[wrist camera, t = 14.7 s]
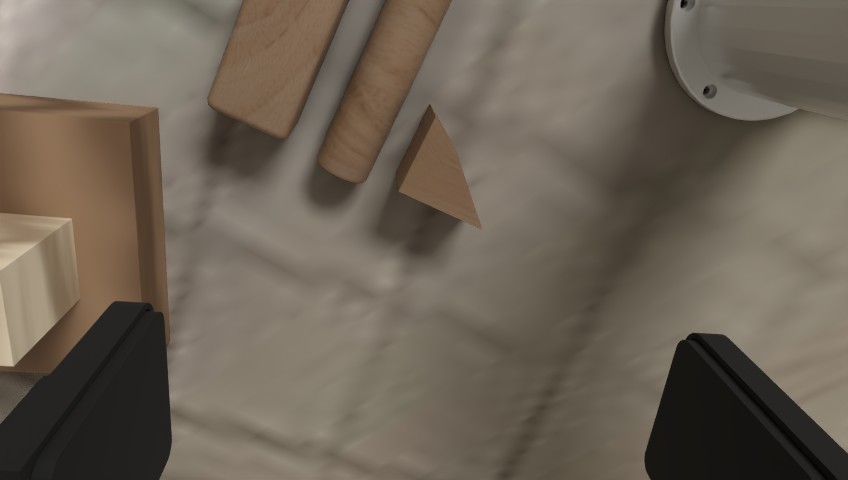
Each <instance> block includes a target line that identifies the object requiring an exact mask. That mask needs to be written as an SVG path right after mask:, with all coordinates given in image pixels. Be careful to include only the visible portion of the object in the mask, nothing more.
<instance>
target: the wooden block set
mask: <svg viewBox="0 0 848 480" xmlns="http://www.w3.org/2000/svg"><path fill="white" fill-rule="evenodd" d="M451 1H452V0H386V1H385V3H384V6H383V8H382V10H381V12H380V15H379V17H378V19H377V22H376V24H375V26H374V28H373V31H372V33H371V35H370V37H369V40H368V42H367V44H366V46H365V49H364V51H363V53H362V55H361V58H360V60H359V62H358V65H357V67H356V69H355V71H354V74H353V76H352V78H351V80H350V83H349V85H348V87H347V89H346V92H345V94H344V96H343V98H342V101H341V103H340V105H339V108H338V110H337V112H336V114H335V117H334V119H333V121H332V123H331V126H330V128H329V130H328V132H327V135H326V137H325V139H324V142H323V144H322V146H321V148H320V151H319V153H318V155H317V162H318V164H319V165H320V166H321V167H322V168H324V169H325V170H326V171H328V172H329V173H331V174H333V175H334V176H336V177H339V178H341V179H343V180H346V181H349V182H354V183H363V182H364V181H366V180H367V178H368V175H369V173H370V171H371V169H372V167H373V165H374V163H375V161H376V159H377V157H378V154H379V152H380V150H381V148H382V146H383V144H384V142H385V140H386V138H387V135H388V133H389V131H390V129H391V127H392V125H393V123H394V121H395V119H396V117H397V114H398V112H399V110H400V108H401V106H402V104H403V102H404V100H405V98H406V96H407V93H408V91H409V89H410V87H411V85H412V83H413V81H414V79H415V77H416V75H417V72H418V70H419V68H420V66H421V64H422V62H423V60H424V58H425V56H426V54H427V51H428V49H429V47H430V45H431V43H432V41H433V39H434V37H435V35H436V32H437V30H438V28H439V26H440V24H441V22H442V20H443V18H444V16H445V14H446V11H447V9H448V7H449V5H450V3H451ZM348 2H349V0H244V1H243V3H242V6H241V9H240V11H239V14H238V17H237V20H236V22H235V25H234V28H233V30H232V33H231V36H230V39H229V41H228V44H227V47H226V49H225V52H224V55H223V58H222V60H221V63H220V66H219V68H218V71H217V74H216V77H215V79H214V82H213V85H212V87H211V90H210V93H209V96H208V105H209V106H210V107H211V108H212V109H213V110H215V111H217V112H219V113H222V114H224V115H226V116H228V117H230V118H233V119H235V120H237V121H239V122H241V123H244V124H246V125H248V126H250V127H253V128H255V129H257V130H259V131H261V132H264V133H266V134H268V135H270V136H272V137H275V138H277V139H285V138H286V137H287V136H288V135H289V134H290V133H291V131H292V130H293V128H294V127H295V125H296V124H297V122H298V120H299V117H300V115H301V113H302V110H303V108H304V106H305V103H306V101H307V99H308V96H309V94H310V91H311V89H312V87H313V84H314V82H315V80H316V77H317V75H318V73H319V70H320V68H321V65H322V63H323V61H324V58H325V56H326V54H327V51H328V49H329V46H330V44H331V42H332V39H333V37H334V35H335V32H336V30H337V28H338V25H339V23H340V20H341V18H342V16H343V13H344V11H345V9H346V6H347V4H348ZM397 182H398V192H400V193H403V194H405V195H407V196H409V197H411V198H414V199H416V200H418V201H420V202H422V203H425V204H427V205H429V206H431V207H433V208H436V209H438V210H440V211H442V212H444V213H447V214H449V215H451V216H453V217H455V218H458V219H460V220H462V221H464V222H466V223H469V224H471V225H473V226H475V227H477V228H480V229H482V228H481V225H480V222H479V219H478V216H477V213H476V210H475V207H474V204H473V201H472V198H471V195H470V192H469V189H468V186H467V183H466V180H465V177H464V174H463V171H462V168H461V165H460V162H459V159H458V156H457V153H456V151H455V149H454V147H453V145H452V143H451V141H450V139H449V137H448V135H447V133H446V131H445V129H444V128H443V126H442V124H441V122H440V121H439V119H438V117H437V115H436V114H435V112H434V110H433V108H432V107H431V105H429V107H428V109H427V111H426V113H425V115H424V117H423V119H422V121H421V123H420V125H419V127H418V129H417V131H416V133H415V135H414V137H413V139H412V141H411V143H410V145H409V147H408V150H407V152H406V154H405V156H404V158H403V160H402V162H401V164H400V166H399V168H398V170H397Z"/></svg>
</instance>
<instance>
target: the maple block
mask: <svg viewBox="0 0 848 480" xmlns="http://www.w3.org/2000/svg"><path fill="white" fill-rule="evenodd" d="M79 299H80V291H79V282H78V272H77V263H76V253H75V243H74V234H73V224H72V219H70V218H58V217H45V216H33V215H20V214H8V213H0V366H15V365H16V364H17V363H18V361H19V360H20V359H21V358H22V357H23V356H24V355H25V354H26V353H27V352H28V351H29V350H30V349H31V348H32V347H33V346H34V345H35V344H36V343H37V342H38V341H39V340H40V339H41V338H42V337H43V336H44V335H45V334H46V333H47V332H48V331H49V330H50V329H51V328H52V327H53V326H54V325H55V324H56V323H57V322H58V321H59V320H60V319H61V318H62V317H63V316H64V315H65V314H66V313H67V312H68V311H69V310H70V309H71V308H72V307H73V306H74V305H75V304H76V302H77V301H78V300H79Z"/></svg>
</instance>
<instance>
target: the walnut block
mask: <svg viewBox="0 0 848 480" xmlns="http://www.w3.org/2000/svg"><path fill="white" fill-rule="evenodd" d="M0 213H8V214H20V215H33V216H45V217H58V218H70V219H72V224H73V234H74V243H75V253H76V263H77V272H78V282H79V291H80V299H79V300H78V301H77V302H76V304H75V305H74V306H73V307H72V308H71V309H70V310H69V311H68V312H67V313H66V314H65V315H64V316H63V317H62V318H61V319H60V320H59V321H58V322H57V323H56V324H55V325H54V326H53V327H52V328H51V329H50V330H49V331H48V332H47V333H46V334H45V335H44V336H43V337H42V338H41V339H40V340H39V341H38V342H37V343H36V344H35V345H34V346H33V347H32V348H31V349H30V350H29V351H28V352H27V353H26V354H25V355H24V356H23V357H22V358H21V359H20V360H19V361H18V363H17V364H16V365H15V366H0V371H4V372H25V373H46V374H51V373H52V371H53V370H54V369H55V368H56V367H57V366H58V365H59V363H60V362H61V361H62V360H63V359H64V358H65V356H66V355H67V354H68V353H69V352H70V351H71V350H72V348H73V347H74V346H75V345H76V344H77V343H78V341H79V340H80V339H81V338H82V337H83V336H84V335H85V333H86V332H87V331H88V330H89V329H90V328H91V326H92V325H93V324H94V323H95V322H96V321H97V320H98V318H99V317H100V316H101V315H102V314H103V313H104V311H105V310H106V309H107V308H108V307H109V306H110V305H111V303H113V302H114V301H125V302H143V303H150V304H151V305H152V306H153V309H154V311H155V312H162V313H163V315H164V320H165V335H166V346H167V344H168V342H169V341H170V331H169V311H168V292H167V272H166V252H165V233H164V213H163V194H162V174H161V154H160V135H159V115H158V108H152V107H141V106H131V105H120V104H109V103H99V102H88V101H77V100H67V99H56V98H45V97H35V96H24V95H13V94H3V93H0Z"/></svg>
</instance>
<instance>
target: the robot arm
mask: <svg viewBox="0 0 848 480" xmlns="http://www.w3.org/2000/svg"><path fill="white" fill-rule="evenodd" d="M680 2H681V0H668V4H667V7H666V17H665V26H664V32H665V45H666V52H667V55H668V59H669V63H670V66H671V69H672V71H673V73H674V75H675V77H676V79H677V81H678V82H679V84H680V85H681V87H682V88H683V89H684V90H685V91H686V93H687V94H688V95H689V96H690V97H691V98H692V99H693V100H695V101H696V102H697V103H698V104H700V105H701V106H702V107H704V108H706V109H708V110H710V111H712V112H715V113H717V114H719V115H722V116H726V117H729V118H733V119H738V120H748V121H757V120H767V119H773V118H777V117H780V116H783V115H787V114H790V113H792V112H794V111H796V110H798V109H803V110H806V111H810V112H814V113H818V114H822V115H826V116H829V117H833V118H837V119H841V120H845V121H848V0H684V5H683V7H680ZM705 87H706V91H705V92H704V93H703V90H704V88H705ZM171 443H172V433H171V417H170V401H169V384H168V368H167V351H166V335H165V320H164V315H163V313H162V312H155V311H154V309H153V306H152V305H151V304H150V303H143V302H125V301H114V302H113V303H111V305H110V306H109V307H108V308H107V309H106V310H105V311H104V313H103V314H102V315H101V316H100V317H99V318H98V320H97V321H96V322H95V323H94V324H93V325H92V326H91V328H90V329H89V330H88V331H87V332H86V333H85V335H84V336H83V337H82V338H81V339H80V340H79V341H78V343H77V344H76V345H75V346H74V347H73V348H72V350H71V351H70V352H69V353H68V354H67V355H66V356H65V358H64V359H63V360H62V361H61V362H60V363H59V365H58V366H57V367H56V368H55V369H54V370H53V371H52V373H51V374H50V375H48V376H44V377H43V378H42V379H41V380H39V381H38V382H37V383H36V384H35V386H34V387H33V388H32V389H31V390H30V391H29V392H28V393H27V395H26V396H25V397H24V398H23V399H22V400H21V401H20V403H19V404H18V405H17V406H16V407H15V408H14V409H13V410H12V412H11V413H10V414H9V415H8V416H7V417H6V418H5V420H4V421H3V422H2V423H1V424H0V480H159V479H160V476H161V474H162V472H163V470H164V468H165V465H166V463H167V461H168V458H169V455H170V450H171ZM645 468H646V471H647V474H648V476H649V478H650V479H651V480H848V453H847V452H846V451H844V450H843V449H842V448H841V447H840V446H839V445H838V444H837V443H836V442H835V441H834V440H833V439H832V438H831V437H830V436H829V435H828V434H827V433H826V432H825V431H824V430H823V429H822V428H821V427H820V426H819V425H818V424H817V423H816V422H815V421H813V420H812V419H811V418H810V417H809V416H808V415H807V414H806V413H805V412H804V411H803V410H802V409H801V408H800V407H799V406H798V405H797V404H796V403H795V402H794V401H793V400H792V399H791V398H790V397H789V396H788V395H787V394H786V393H785V392H784V391H782V390H781V389H780V388H779V387H778V386H777V385H776V384H775V383H774V382H773V381H772V380H771V379H770V378H769V377H768V376H767V375H766V374H765V373H764V372H763V371H762V370H761V369H760V368H759V367H758V366H757V365H756V364H755V363H754V362H753V361H751V360H750V359H749V358H748V357H747V356H746V355H745V354H744V353H743V352H742V351H741V350H740V349H739V348H738V347H737V346H736V345H735V344H734V343H733V342H732V341H731V340H730V339H729V338H728V337H726V336H725V335H721V334H704V333H692V334H690V335H689V336H688V337H687V338H686V340H682V341H680V342H679V343H678V345H677V347H676V351H675V354H674V357H673V361H672V364H671V368H670V371H669V374H668V378H667V381H666V384H665V388H664V391H663V395H662V398H661V401H660V405H659V408H658V412H657V415H656V418H655V422H654V425H653V429H652V432H651V435H650V439H649V442H648V445H647V449H646V452H645Z"/></svg>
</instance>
